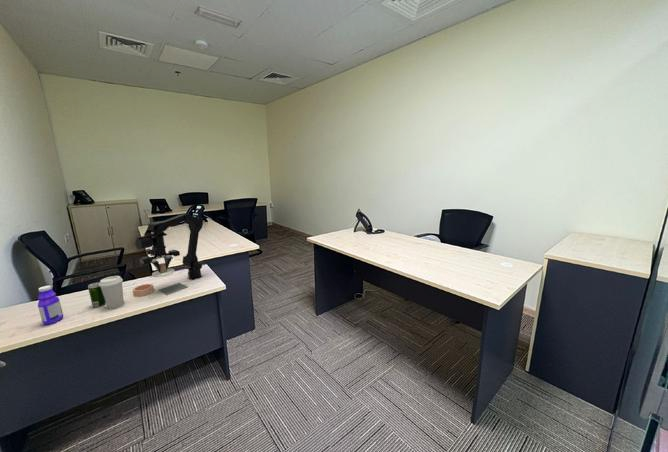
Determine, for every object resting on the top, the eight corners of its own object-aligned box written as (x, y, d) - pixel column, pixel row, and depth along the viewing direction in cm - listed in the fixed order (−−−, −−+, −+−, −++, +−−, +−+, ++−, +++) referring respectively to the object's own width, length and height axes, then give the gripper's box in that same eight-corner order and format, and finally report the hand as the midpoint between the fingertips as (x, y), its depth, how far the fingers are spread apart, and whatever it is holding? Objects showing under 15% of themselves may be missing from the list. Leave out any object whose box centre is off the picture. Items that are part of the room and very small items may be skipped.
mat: (179, 283, 163) (179, 282, 163) (188, 287, 156) (188, 287, 156) (157, 290, 154) (157, 289, 154) (166, 295, 147) (166, 295, 147)
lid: (169, 268, 159) (167, 259, 158) (178, 272, 153) (176, 263, 152) (148, 274, 150) (147, 265, 149) (157, 278, 144) (155, 269, 143)
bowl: (150, 288, 158) (149, 282, 157) (156, 292, 152) (155, 286, 151) (131, 294, 150) (130, 288, 149) (137, 298, 145) (136, 292, 144)
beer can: (104, 306, 137) (99, 285, 135) (91, 308, 135) (85, 287, 132) (107, 301, 142) (102, 281, 139) (94, 304, 140) (89, 283, 137)
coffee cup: (132, 301, 142) (126, 275, 139) (116, 310, 133) (110, 283, 129) (116, 300, 143) (110, 275, 140) (99, 310, 134) (92, 282, 130)
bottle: (54, 317, 128) (45, 284, 124) (67, 316, 128) (58, 283, 125) (39, 326, 121) (29, 291, 117) (53, 325, 121) (43, 290, 118)
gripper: (169, 239, 160) (173, 263, 163) (133, 246, 145) (138, 273, 148) (178, 241, 154) (182, 266, 157) (141, 249, 139) (146, 277, 142)
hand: (162, 270), depth 151 cm, fingers closed on lid, 4 cm apart
